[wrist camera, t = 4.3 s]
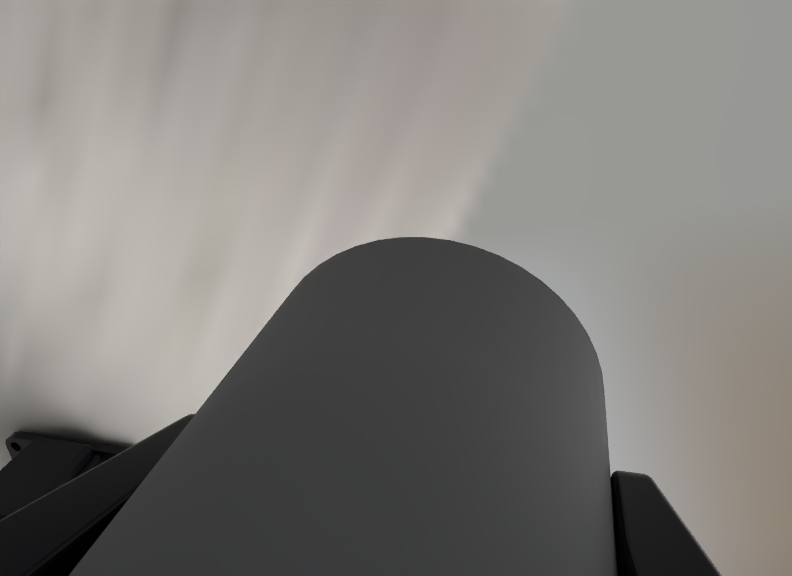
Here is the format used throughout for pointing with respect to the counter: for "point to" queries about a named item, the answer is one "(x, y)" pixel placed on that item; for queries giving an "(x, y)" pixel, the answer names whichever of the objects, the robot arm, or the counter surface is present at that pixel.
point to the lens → (389, 435)
